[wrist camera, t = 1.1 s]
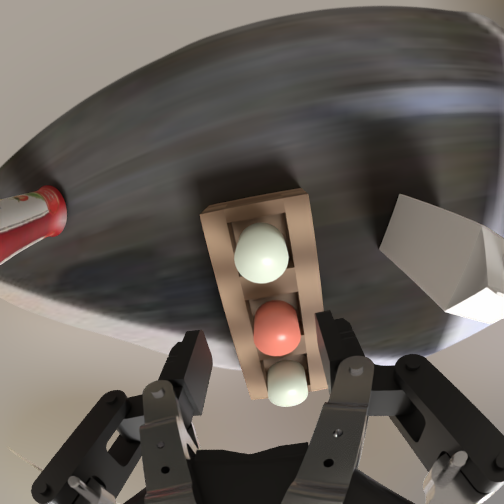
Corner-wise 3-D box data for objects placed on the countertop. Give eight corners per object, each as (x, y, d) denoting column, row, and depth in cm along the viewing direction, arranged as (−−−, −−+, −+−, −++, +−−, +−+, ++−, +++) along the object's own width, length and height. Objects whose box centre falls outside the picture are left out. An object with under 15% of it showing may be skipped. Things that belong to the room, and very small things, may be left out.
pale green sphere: (233, 227, 26) (228, 237, 23) (280, 218, 26) (283, 228, 23) (243, 271, 28) (240, 287, 24) (288, 263, 27) (292, 278, 24)
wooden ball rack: (209, 205, 31) (199, 214, 26) (300, 188, 30) (308, 193, 25) (252, 374, 38) (251, 399, 33) (322, 363, 37) (329, 388, 33)
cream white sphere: (264, 363, 31) (264, 383, 28) (302, 357, 31) (306, 377, 28) (270, 388, 33) (271, 408, 29) (306, 382, 32) (309, 403, 29)
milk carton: (421, 264, 32) (514, 348, 14) (377, 249, 32) (470, 341, 14) (441, 213, 30) (553, 268, 12) (398, 192, 29) (518, 240, 12)
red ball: (250, 303, 29) (249, 322, 26) (294, 296, 28) (297, 314, 25) (258, 338, 30) (258, 358, 27) (299, 332, 30) (302, 352, 26)
